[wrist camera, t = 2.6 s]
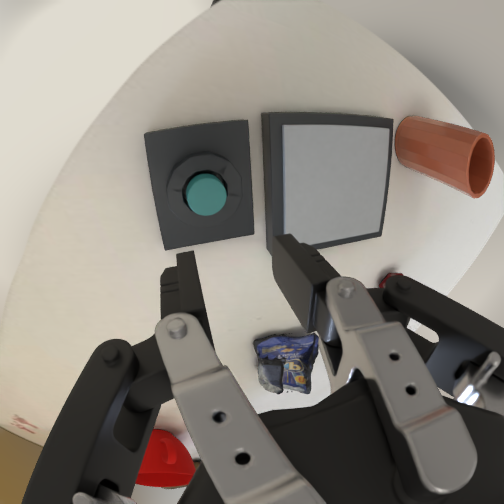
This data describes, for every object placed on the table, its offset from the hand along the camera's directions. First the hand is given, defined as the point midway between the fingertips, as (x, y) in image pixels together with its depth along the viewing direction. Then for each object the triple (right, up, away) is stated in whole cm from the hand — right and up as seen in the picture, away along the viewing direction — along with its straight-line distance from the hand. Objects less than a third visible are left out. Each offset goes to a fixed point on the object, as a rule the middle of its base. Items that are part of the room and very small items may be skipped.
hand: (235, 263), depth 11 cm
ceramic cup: (-17, -33, +29) cm, 47 cm away
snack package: (+4, -14, +25) cm, 29 cm away
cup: (+19, +13, +15) cm, 28 cm away
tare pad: (-4, +6, +11) cm, 13 cm away
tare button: (-3, +5, +9) cm, 11 cm away
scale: (+8, +8, +14) cm, 18 cm away
